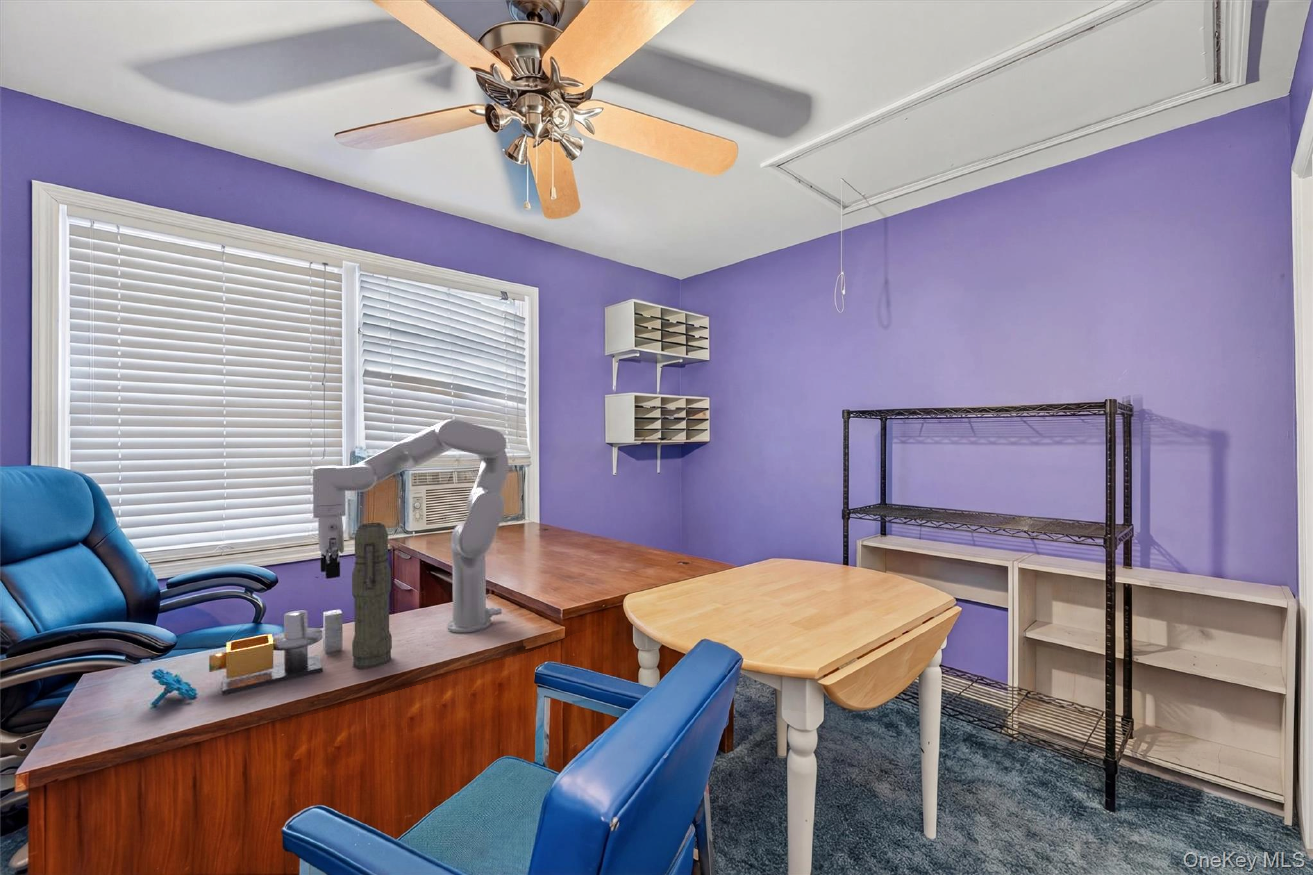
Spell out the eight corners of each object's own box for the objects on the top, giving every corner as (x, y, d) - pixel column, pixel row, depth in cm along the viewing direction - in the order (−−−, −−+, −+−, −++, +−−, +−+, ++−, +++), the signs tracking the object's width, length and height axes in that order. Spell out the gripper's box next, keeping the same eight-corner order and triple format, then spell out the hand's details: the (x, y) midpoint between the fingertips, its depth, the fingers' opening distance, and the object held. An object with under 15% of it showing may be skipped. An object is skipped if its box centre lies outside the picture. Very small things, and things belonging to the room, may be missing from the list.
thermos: (390, 649, 142) (389, 520, 143) (393, 665, 132) (392, 525, 133) (352, 657, 138) (351, 522, 139) (352, 673, 128) (351, 528, 128)
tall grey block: (340, 645, 146) (340, 609, 147) (342, 649, 143) (342, 612, 143) (323, 648, 144) (323, 612, 144) (325, 653, 141) (325, 615, 141)
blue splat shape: (197, 696, 114) (153, 671, 110) (171, 723, 111) (125, 698, 107) (203, 685, 122) (162, 661, 119) (178, 710, 119) (136, 686, 116)
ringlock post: (319, 657, 138) (319, 603, 138) (325, 671, 129) (324, 614, 129) (210, 681, 124) (210, 622, 125) (208, 699, 116) (208, 635, 116)
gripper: (351, 512, 139) (351, 577, 139) (340, 507, 153) (340, 566, 152) (317, 515, 134) (318, 583, 134) (309, 509, 148) (309, 570, 148)
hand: (330, 574), depth 143 cm, fingers open, 9 cm apart
